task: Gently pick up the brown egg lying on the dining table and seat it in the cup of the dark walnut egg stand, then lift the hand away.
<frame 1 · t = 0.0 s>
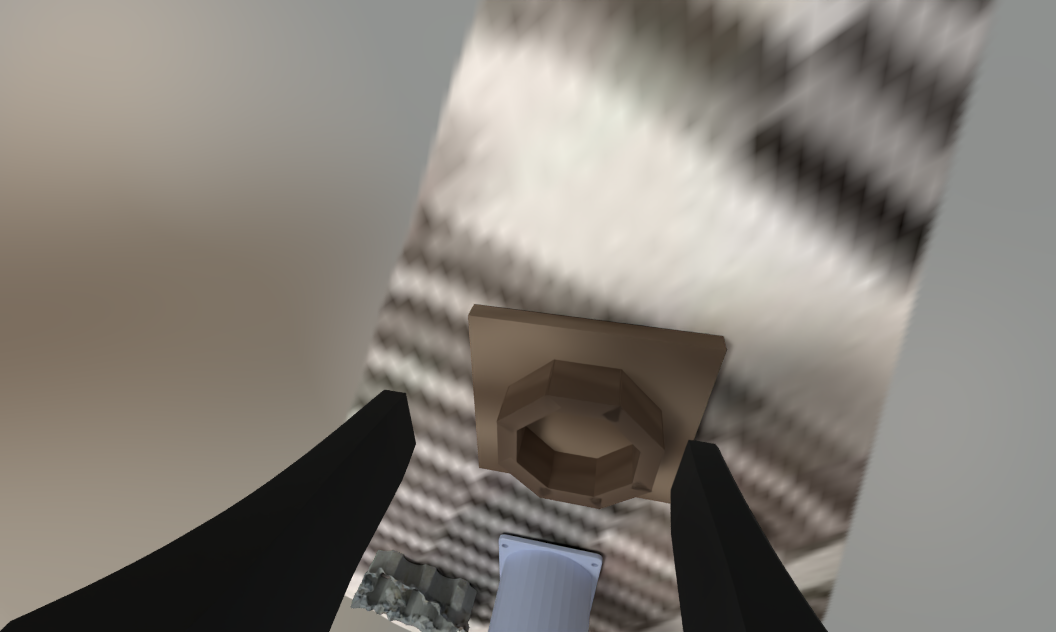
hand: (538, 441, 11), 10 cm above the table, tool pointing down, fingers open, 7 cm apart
egg carton: (424, 574, 42), on the table
egg stand: (581, 406, 24), on the table
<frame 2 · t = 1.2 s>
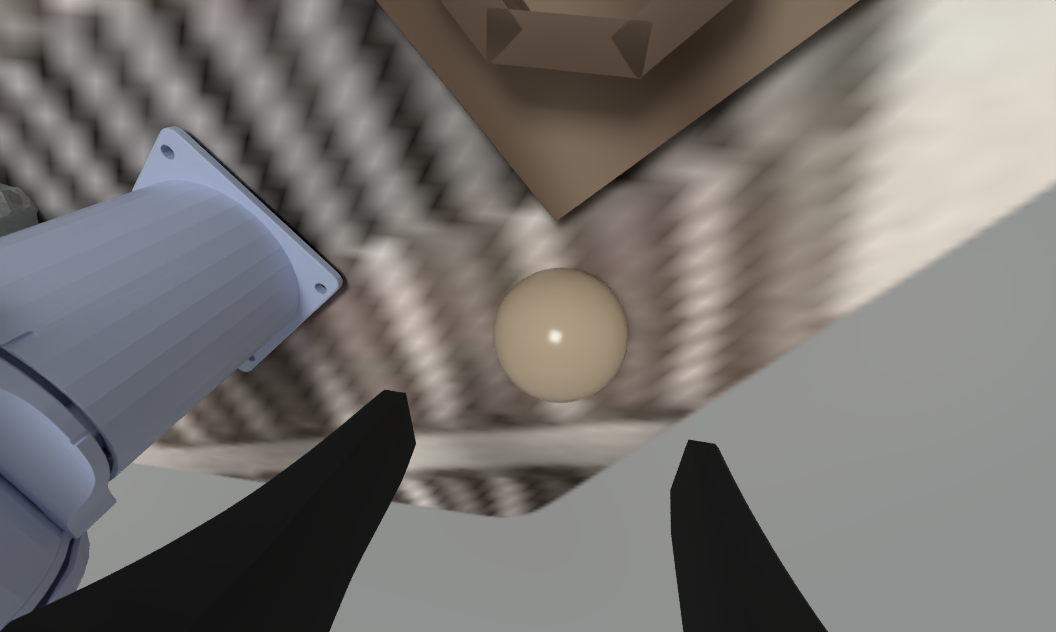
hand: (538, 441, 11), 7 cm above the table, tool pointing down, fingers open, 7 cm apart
egg: (559, 334, 15), point 2 cm above the table
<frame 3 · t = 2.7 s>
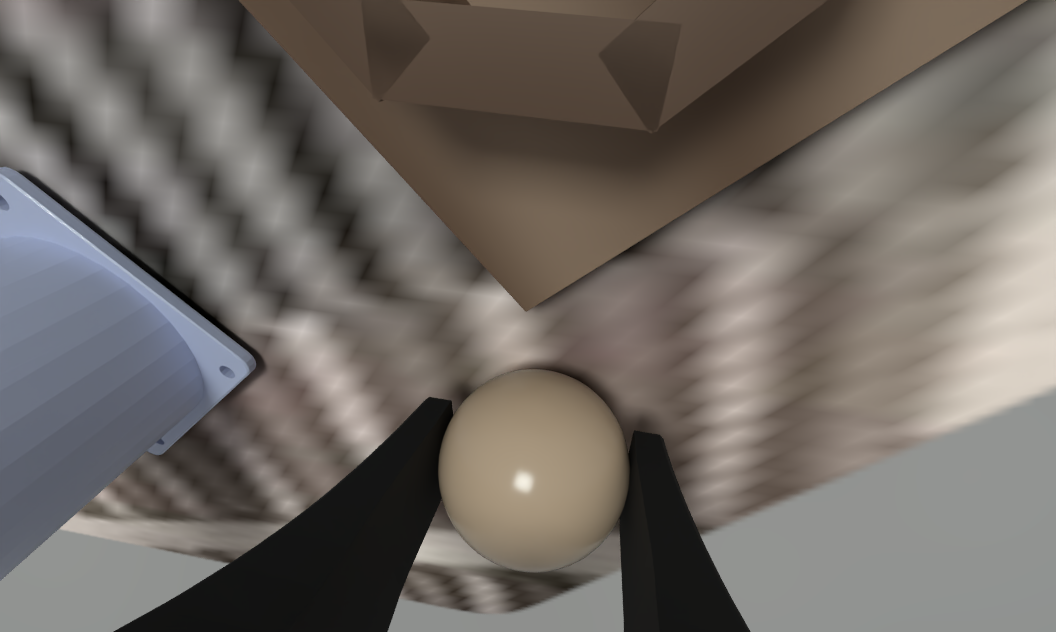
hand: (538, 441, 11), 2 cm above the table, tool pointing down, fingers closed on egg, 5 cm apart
egg: (533, 463, 11), point 2 cm above the table, touching gripper
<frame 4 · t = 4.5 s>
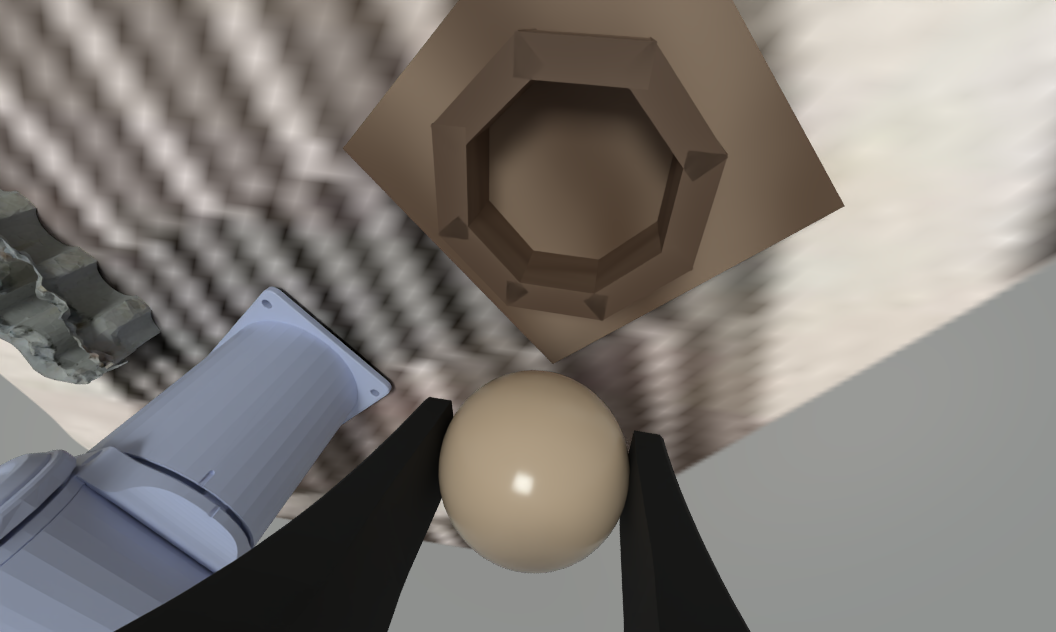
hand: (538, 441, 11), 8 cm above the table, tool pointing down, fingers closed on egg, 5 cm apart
egg carton: (73, 275, 25), on the table
egg: (533, 464, 11), point 9 cm above the table, touching gripper
egg stand: (578, 167, 15), on the table
when the fingers open (5 cm above the table, at t = 6.2 s): egg drops 3 cm, resting on egg stand.
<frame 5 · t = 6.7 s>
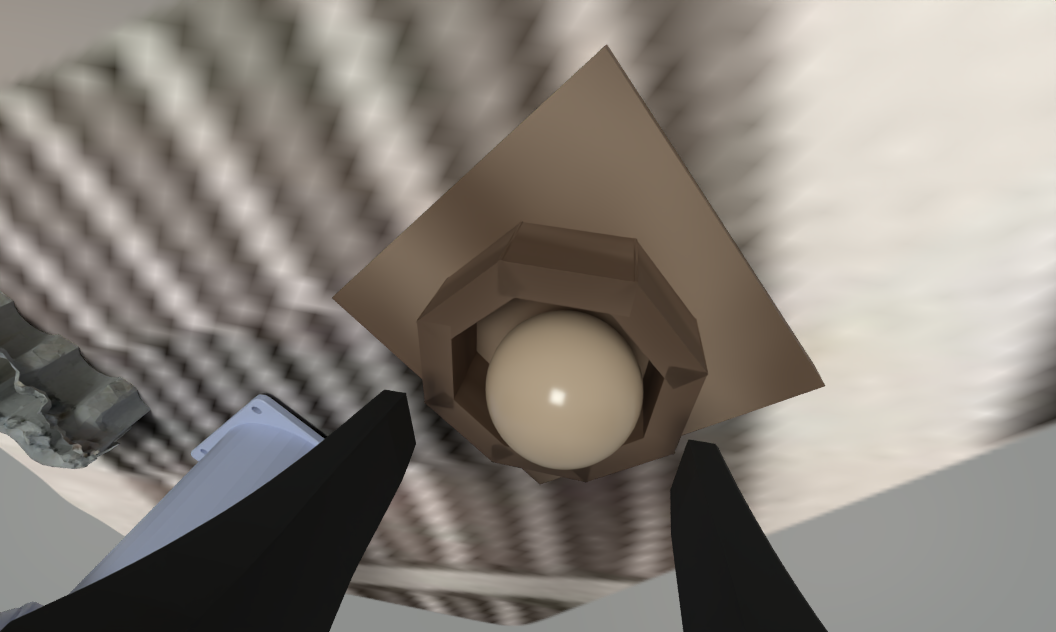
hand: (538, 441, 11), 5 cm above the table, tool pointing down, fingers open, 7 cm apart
egg carton: (62, 360, 24), on the table
egg: (563, 387, 13), point 3 cm above the table, tilted 11°, touching egg stand
egg stand: (565, 322, 15), on the table
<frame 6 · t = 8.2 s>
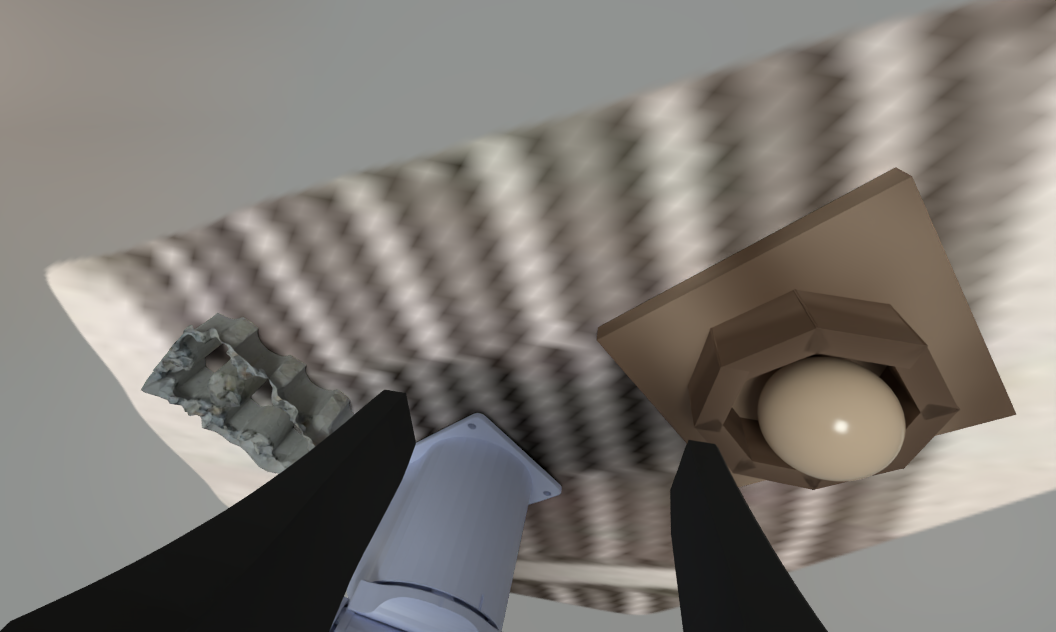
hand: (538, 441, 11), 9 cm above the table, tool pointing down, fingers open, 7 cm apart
egg carton: (280, 378, 28), on the table
egg: (825, 417, 16), point 3 cm above the table, tilted 12°, touching egg stand
egg stand: (788, 360, 19), on the table
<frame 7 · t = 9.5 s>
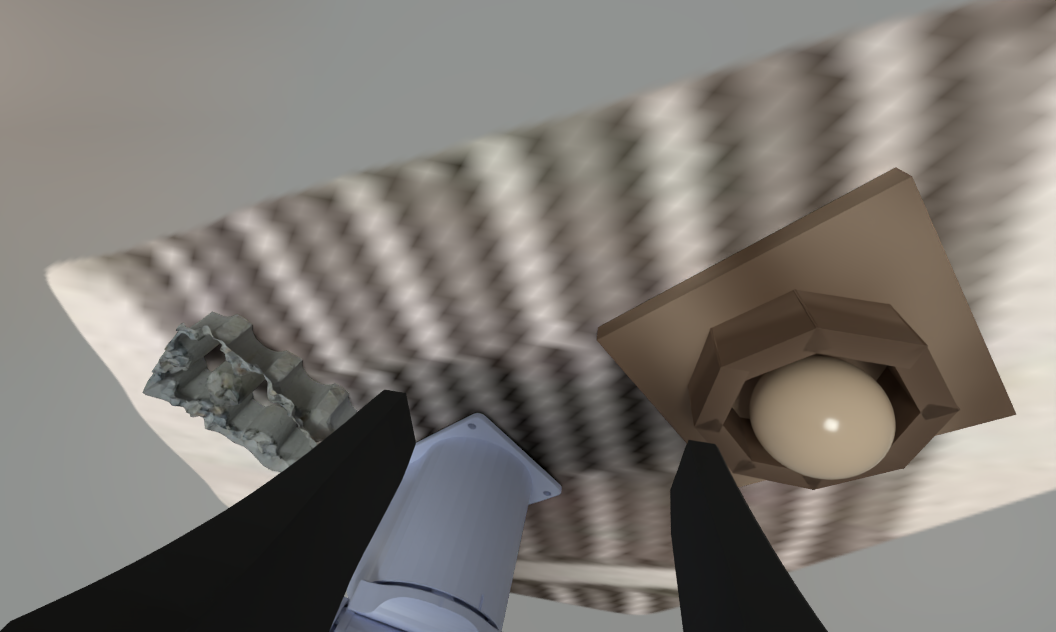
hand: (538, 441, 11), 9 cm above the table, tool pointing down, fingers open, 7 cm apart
egg carton: (280, 376, 28), on the table
egg: (816, 415, 16), point 3 cm above the table, touching egg stand
egg stand: (788, 360, 19), on the table
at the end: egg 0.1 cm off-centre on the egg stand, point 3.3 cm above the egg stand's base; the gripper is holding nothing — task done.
